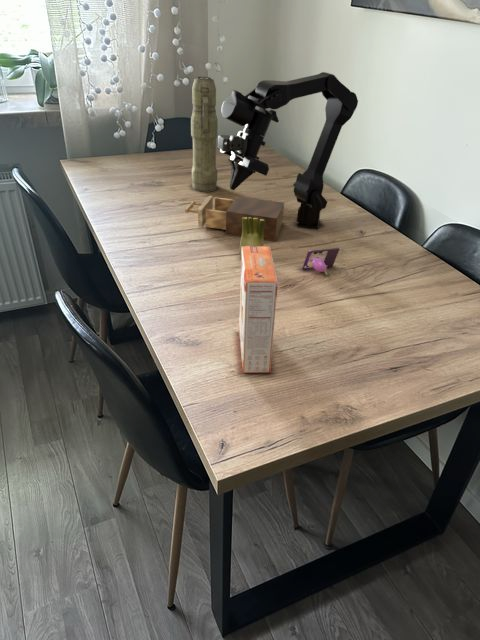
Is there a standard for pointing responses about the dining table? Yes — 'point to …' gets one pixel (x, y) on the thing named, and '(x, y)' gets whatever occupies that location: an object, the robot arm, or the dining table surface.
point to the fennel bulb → (252, 233)
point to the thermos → (204, 134)
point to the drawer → (211, 212)
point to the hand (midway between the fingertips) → (231, 189)
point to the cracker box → (257, 308)
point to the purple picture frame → (321, 263)
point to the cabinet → (255, 216)
